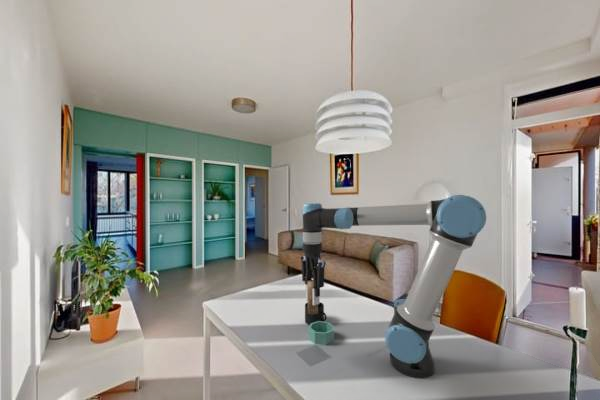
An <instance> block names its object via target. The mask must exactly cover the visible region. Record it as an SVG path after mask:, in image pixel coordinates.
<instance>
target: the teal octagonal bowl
mask: <svg viewBox="0 0 600 400" xmlns="http://www.w3.org/2000/svg"><path fill="white" fill-rule="evenodd" d="M308 326H309V327H308V340H309V341H311V342H312V343H313V344H314V345H320V346H321V345H323V346H326V345H329V344H332V343H334V340H335V325H334V324H333V323H330V322H328V321H324V322H323V321H317V322H314V323H311V324H310V325H308Z"/></svg>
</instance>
